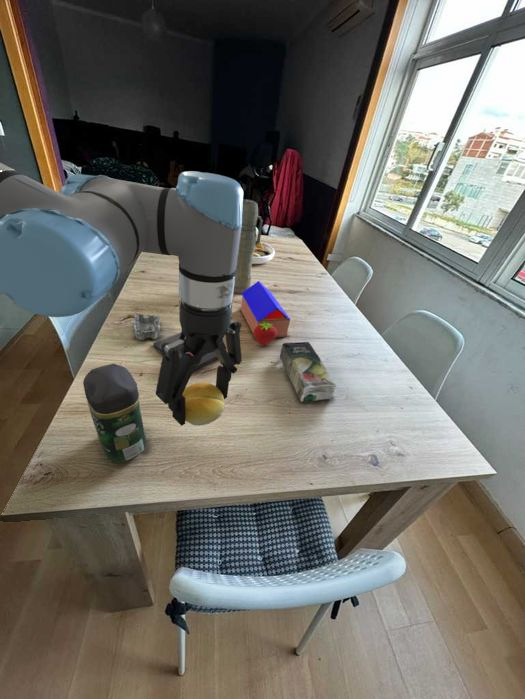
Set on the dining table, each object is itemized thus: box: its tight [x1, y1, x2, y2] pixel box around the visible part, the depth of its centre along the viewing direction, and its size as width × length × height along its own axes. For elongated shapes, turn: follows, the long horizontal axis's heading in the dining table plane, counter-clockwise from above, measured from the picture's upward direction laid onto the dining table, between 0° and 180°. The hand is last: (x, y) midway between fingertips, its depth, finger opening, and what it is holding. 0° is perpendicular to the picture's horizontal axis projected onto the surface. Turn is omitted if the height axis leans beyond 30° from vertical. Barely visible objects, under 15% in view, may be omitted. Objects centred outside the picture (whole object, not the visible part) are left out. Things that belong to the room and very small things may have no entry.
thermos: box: [234, 198, 264, 295], centre depth 116 cm, size 9×12×35 cm
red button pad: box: [153, 332, 218, 372], centre depth 87 cm, size 16×14×3 cm
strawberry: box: [253, 321, 277, 347], centre depth 92 cm, size 6×8×10 cm
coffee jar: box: [82, 363, 147, 464], centre depth 55 cm, size 10×8×19 cm
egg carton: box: [133, 312, 161, 341], centre depth 91 cm, size 11×8×4 cm
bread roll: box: [182, 381, 225, 427], centre depth 54 cm, size 8×9×4 cm
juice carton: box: [279, 341, 337, 403], centre depth 84 cm, size 20×10×6 cm, turn 15°
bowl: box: [252, 241, 276, 265], centre depth 159 cm, size 30×30×8 cm
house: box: [240, 280, 291, 338], centre depth 104 cm, size 12×20×12 cm, turn 18°
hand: (201, 406), depth 55 cm, fingers closed on bread roll, 9 cm apart
